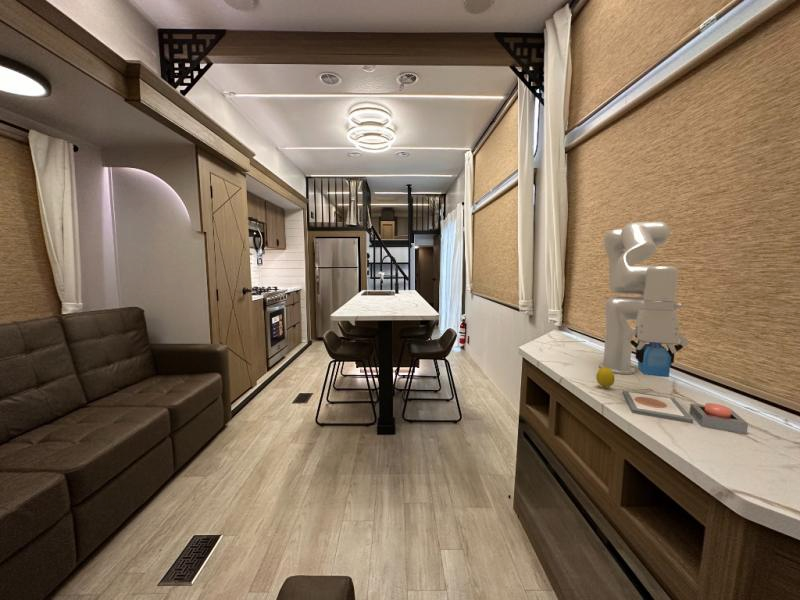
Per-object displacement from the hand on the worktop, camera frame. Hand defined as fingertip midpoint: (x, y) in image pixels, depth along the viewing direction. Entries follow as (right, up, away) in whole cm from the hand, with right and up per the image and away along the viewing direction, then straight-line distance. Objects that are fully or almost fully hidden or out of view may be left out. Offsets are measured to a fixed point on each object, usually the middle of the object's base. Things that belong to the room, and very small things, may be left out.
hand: (653, 362), depth 97 cm
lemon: (-5, -13, +16) cm, 21 cm away
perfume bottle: (0, -3, 0) cm, 4 cm away
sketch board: (+1, -14, +1) cm, 14 cm away
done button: (+10, -13, -10) cm, 19 cm away
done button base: (+10, -15, -9) cm, 20 cm away
